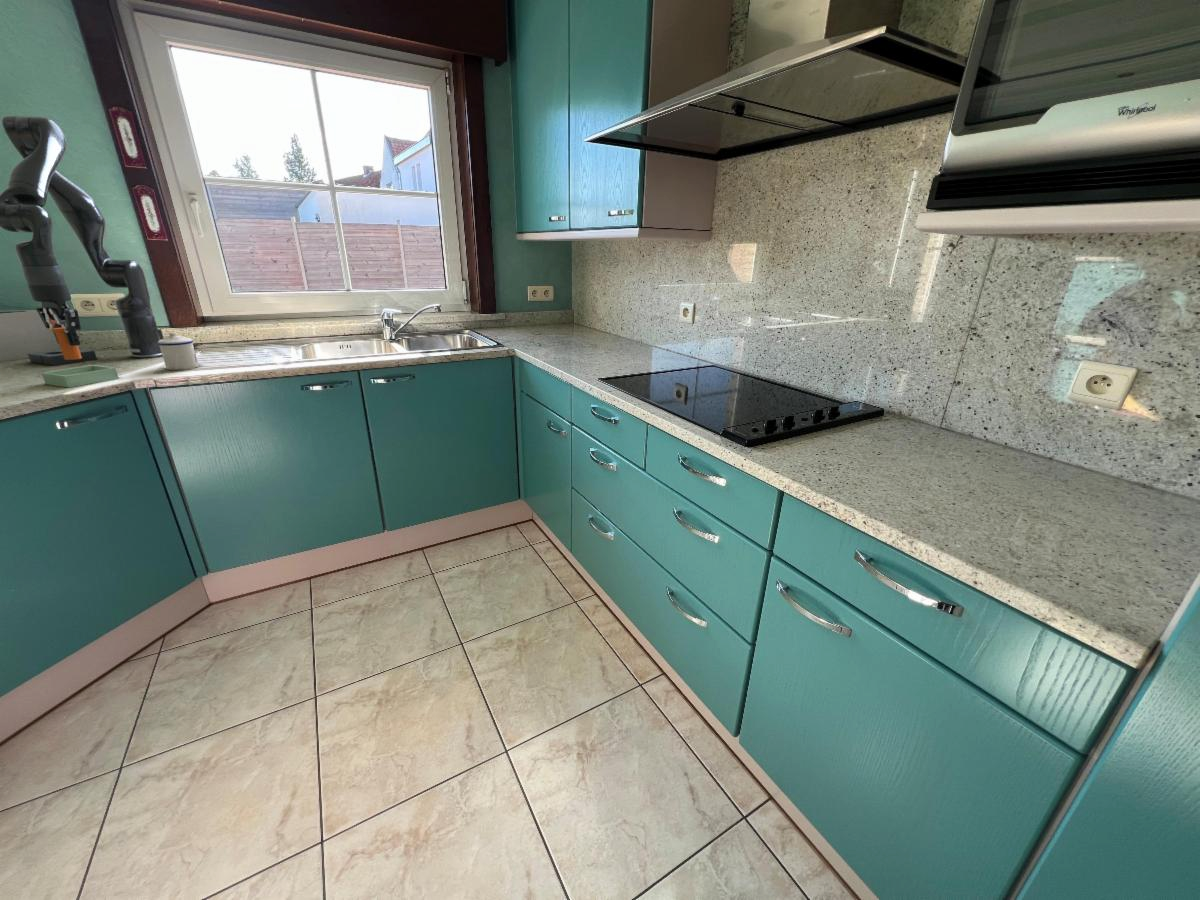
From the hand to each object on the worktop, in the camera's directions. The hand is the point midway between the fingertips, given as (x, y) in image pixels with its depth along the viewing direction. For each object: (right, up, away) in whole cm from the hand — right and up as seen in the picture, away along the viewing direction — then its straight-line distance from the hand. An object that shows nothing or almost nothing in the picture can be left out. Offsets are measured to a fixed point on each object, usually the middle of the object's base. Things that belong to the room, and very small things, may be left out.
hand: (69, 344), depth 142 cm
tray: (0, -10, +4) cm, 11 cm away
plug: (0, -4, +1) cm, 4 cm away
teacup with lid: (+12, -3, +24) cm, 27 cm away
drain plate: (-32, 0, +28) cm, 42 cm away
